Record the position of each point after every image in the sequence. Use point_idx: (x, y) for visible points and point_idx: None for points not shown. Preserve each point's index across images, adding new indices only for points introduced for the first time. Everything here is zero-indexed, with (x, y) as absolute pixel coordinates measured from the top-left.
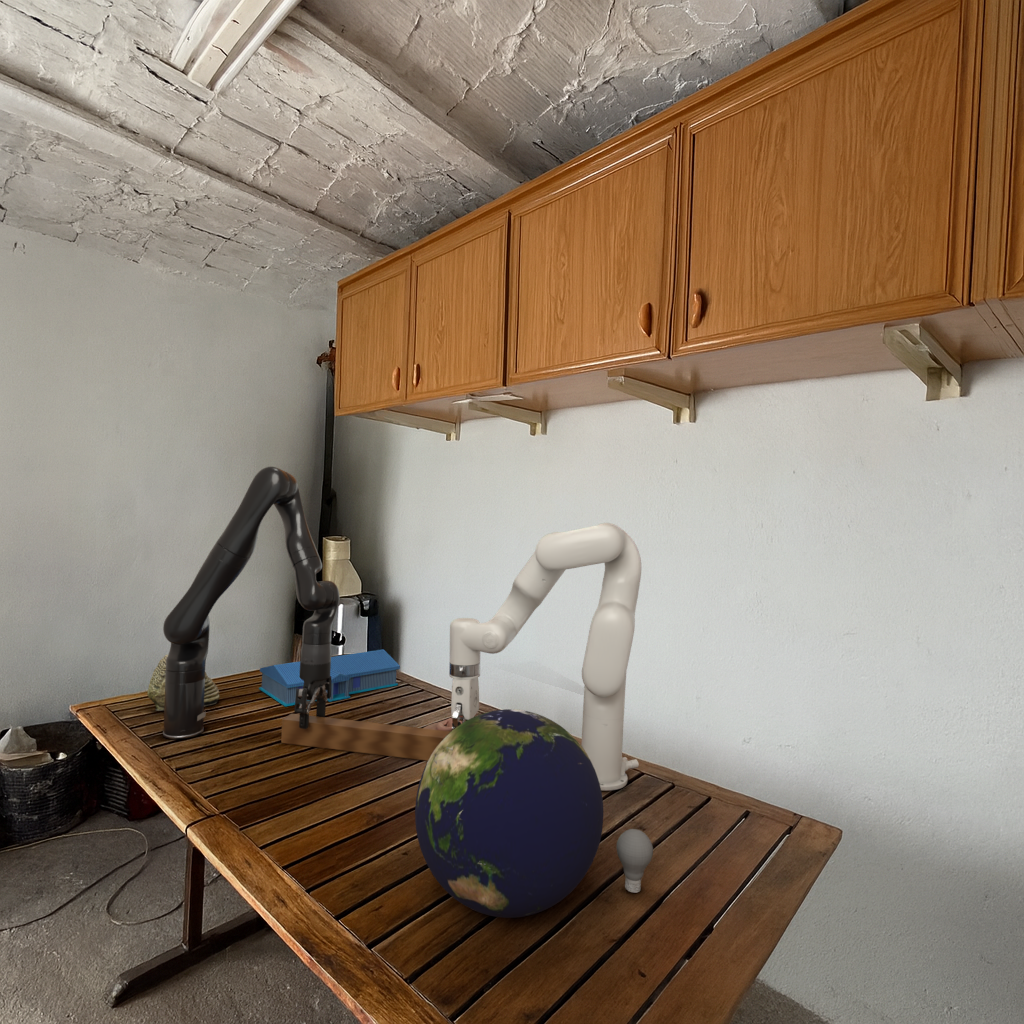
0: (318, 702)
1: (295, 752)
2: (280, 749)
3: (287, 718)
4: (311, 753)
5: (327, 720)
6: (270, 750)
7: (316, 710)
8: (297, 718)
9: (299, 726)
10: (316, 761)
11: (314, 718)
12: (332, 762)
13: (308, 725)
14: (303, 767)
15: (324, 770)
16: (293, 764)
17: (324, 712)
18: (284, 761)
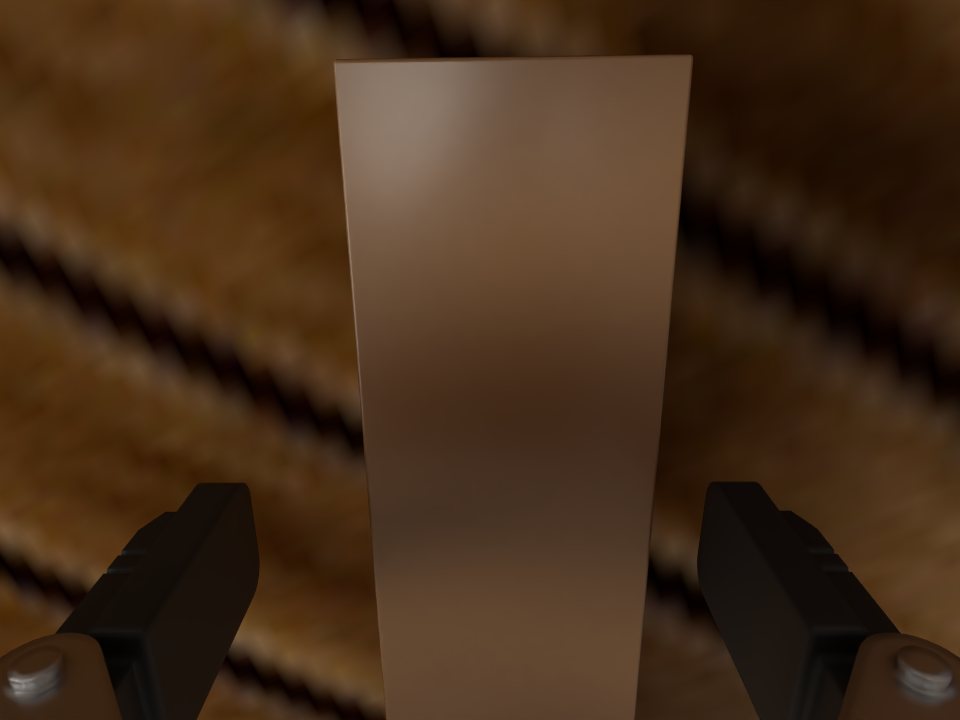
0: (868, 636)
1: (233, 365)
2: (233, 182)
3: (411, 137)
4: (274, 504)
5: (528, 715)
6: (162, 89)
7: (751, 532)
8: (470, 308)
9: (198, 490)
10: None
11: (550, 544)
12: None
13: (246, 604)
14: (6, 572)
15: None
16: (8, 478)
17: (732, 637)
18: (15, 377)
